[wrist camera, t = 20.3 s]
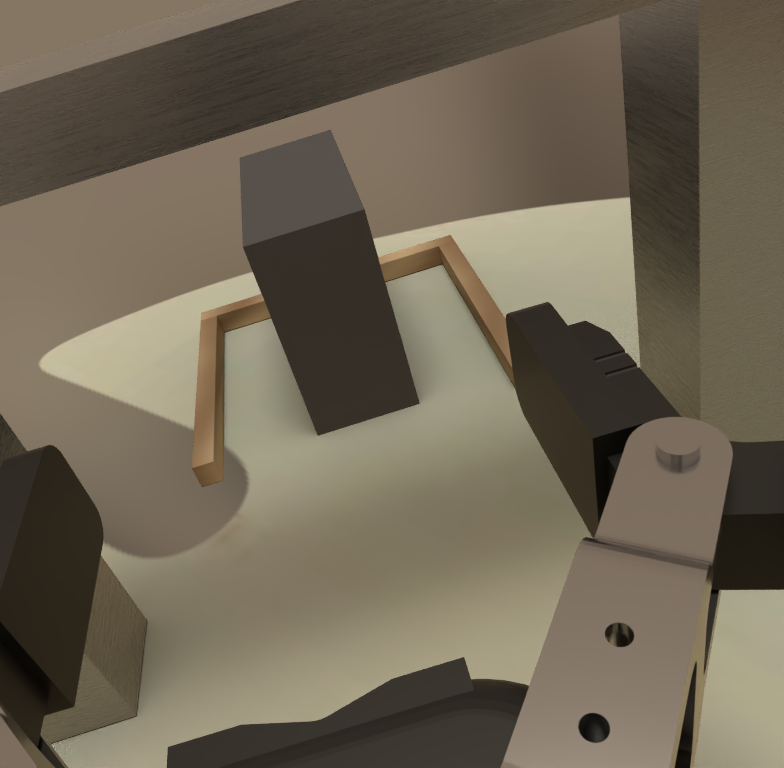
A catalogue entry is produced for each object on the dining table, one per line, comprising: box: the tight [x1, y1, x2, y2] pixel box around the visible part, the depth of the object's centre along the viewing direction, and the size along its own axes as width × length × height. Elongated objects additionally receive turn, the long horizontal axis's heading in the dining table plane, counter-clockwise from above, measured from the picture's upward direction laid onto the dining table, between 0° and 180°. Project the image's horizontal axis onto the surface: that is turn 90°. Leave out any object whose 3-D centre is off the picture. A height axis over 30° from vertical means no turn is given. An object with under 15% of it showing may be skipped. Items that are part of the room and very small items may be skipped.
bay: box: [192, 235, 515, 487], centre depth 40 cm, size 16×15×1 cm
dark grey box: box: [240, 130, 419, 435], centre depth 37 cm, size 5×13×10 cm, turn 11°
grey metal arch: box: [0, 0, 784, 743], centre depth 21 cm, size 26×4×20 cm, turn 101°
